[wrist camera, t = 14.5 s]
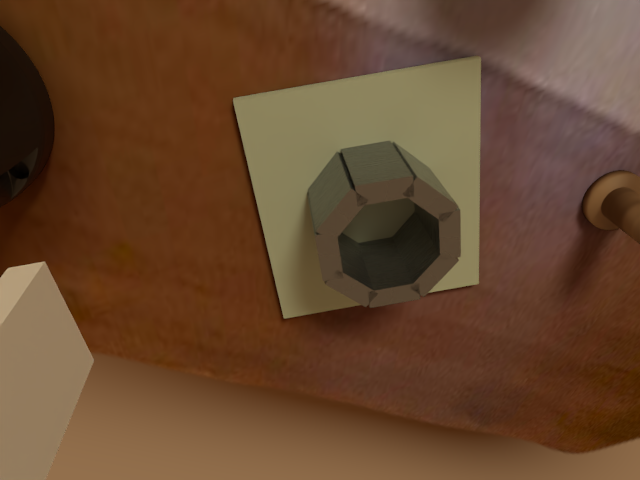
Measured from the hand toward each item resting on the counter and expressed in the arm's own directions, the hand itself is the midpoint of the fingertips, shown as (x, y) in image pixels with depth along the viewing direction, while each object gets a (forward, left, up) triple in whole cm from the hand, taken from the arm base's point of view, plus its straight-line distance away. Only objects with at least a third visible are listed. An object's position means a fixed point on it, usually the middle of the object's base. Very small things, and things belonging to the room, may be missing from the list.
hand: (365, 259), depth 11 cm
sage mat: (+4, -13, -29) cm, 32 cm away
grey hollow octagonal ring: (+4, -13, -28) cm, 31 cm away
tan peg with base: (+25, -17, -29) cm, 42 cm away
